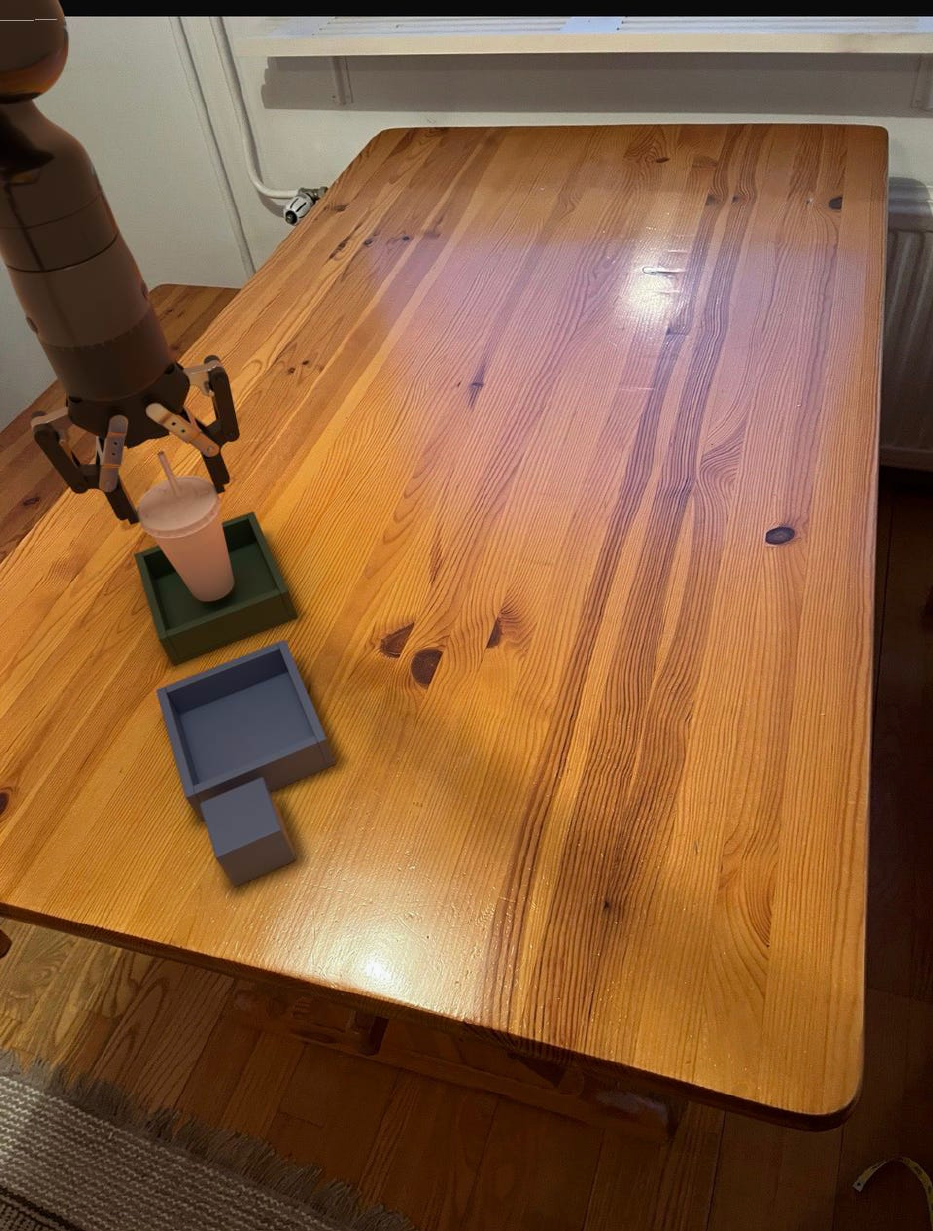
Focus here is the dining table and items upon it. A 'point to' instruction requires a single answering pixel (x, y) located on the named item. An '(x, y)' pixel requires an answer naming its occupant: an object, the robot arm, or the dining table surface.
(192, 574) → the smoothie
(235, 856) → the blue block
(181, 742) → the blue bin
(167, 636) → the green bin
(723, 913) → the dining table surface
